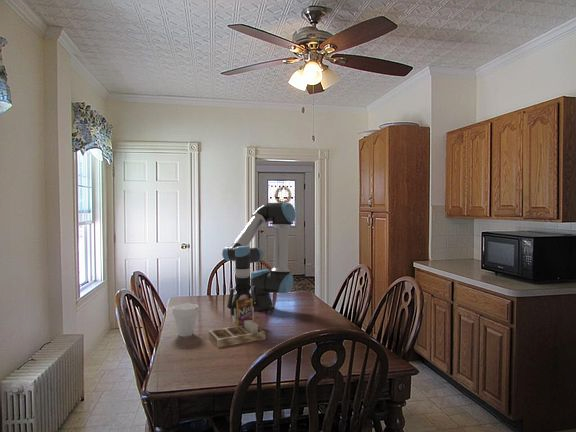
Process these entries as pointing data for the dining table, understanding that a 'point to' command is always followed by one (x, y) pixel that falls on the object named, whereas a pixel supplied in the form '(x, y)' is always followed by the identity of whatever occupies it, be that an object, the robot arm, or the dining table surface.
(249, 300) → the candy box
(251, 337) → the rack
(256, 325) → the white rectangular carton
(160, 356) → the dining table surface
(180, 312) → the cup
